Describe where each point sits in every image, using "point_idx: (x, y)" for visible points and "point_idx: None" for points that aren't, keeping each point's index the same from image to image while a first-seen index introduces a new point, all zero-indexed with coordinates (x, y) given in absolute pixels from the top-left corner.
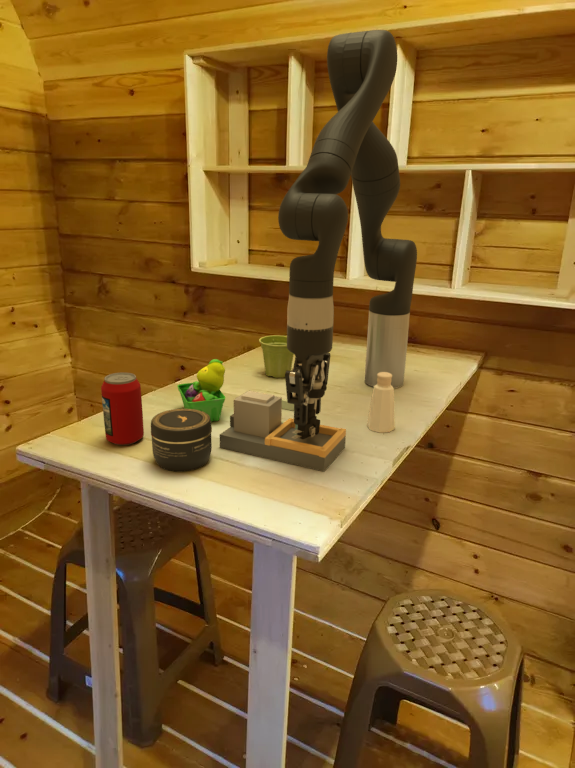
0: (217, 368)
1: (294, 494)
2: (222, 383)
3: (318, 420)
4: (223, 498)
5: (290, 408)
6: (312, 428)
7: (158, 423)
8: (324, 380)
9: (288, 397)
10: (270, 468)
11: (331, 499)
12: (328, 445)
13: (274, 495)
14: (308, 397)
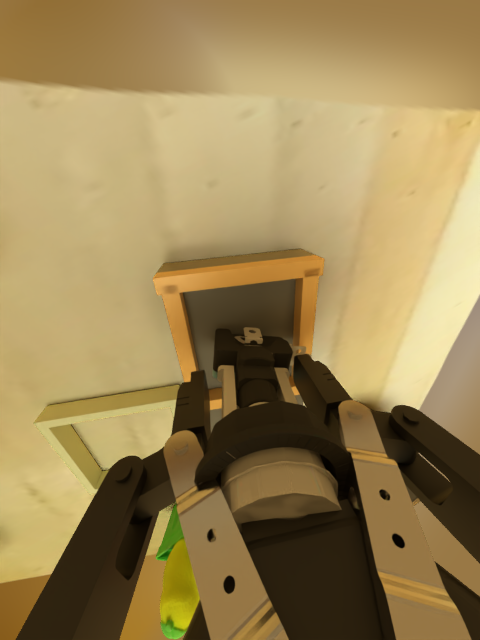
0: (189, 606)
1: (404, 253)
2: (183, 554)
3: (225, 350)
4: (432, 337)
5: (79, 443)
6: (256, 341)
7: (413, 503)
8: (135, 495)
9: (427, 464)
10: (325, 337)
11: (410, 172)
12: (287, 268)
13: (413, 282)
14: (347, 428)
